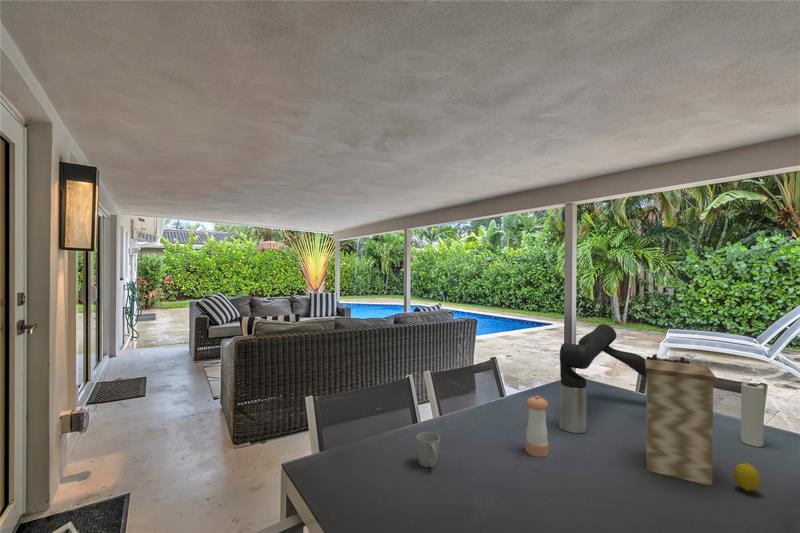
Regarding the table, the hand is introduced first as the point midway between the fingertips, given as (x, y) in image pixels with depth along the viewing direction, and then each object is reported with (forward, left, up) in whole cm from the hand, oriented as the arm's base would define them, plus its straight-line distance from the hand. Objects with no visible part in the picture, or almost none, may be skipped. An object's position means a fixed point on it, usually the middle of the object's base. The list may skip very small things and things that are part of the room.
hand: (668, 357), depth 151 cm
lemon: (+16, -39, -29) cm, 51 cm away
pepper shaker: (-40, -47, -29) cm, 68 cm away
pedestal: (0, -34, -29) cm, 44 cm away
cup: (-67, -75, -29) cm, 105 cm away
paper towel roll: (+26, +3, -29) cm, 39 cm away
